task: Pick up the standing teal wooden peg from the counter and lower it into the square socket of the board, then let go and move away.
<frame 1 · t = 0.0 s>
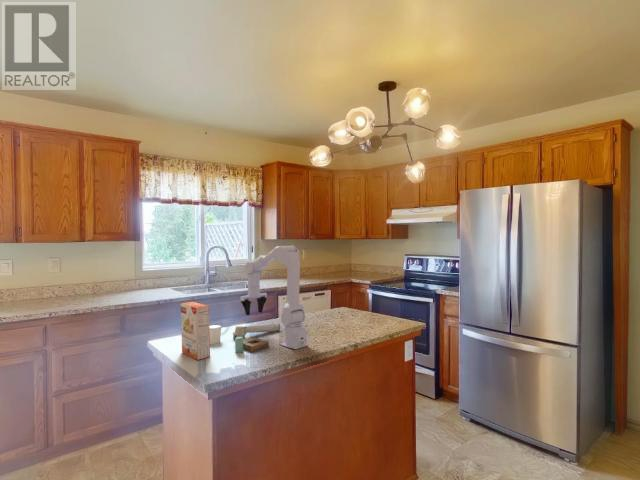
hand: (254, 313, 181), 10 cm above the countertop, tool pointing down, fingers open, 7 cm apart
socket board: (252, 346, 161), on the countertop
peg: (239, 352, 154), on the countertop
cracker box: (195, 355, 151), on the countertop
cream knobbed rod: (257, 335, 180), on the countertop
white cup: (213, 342, 170), on the countertop
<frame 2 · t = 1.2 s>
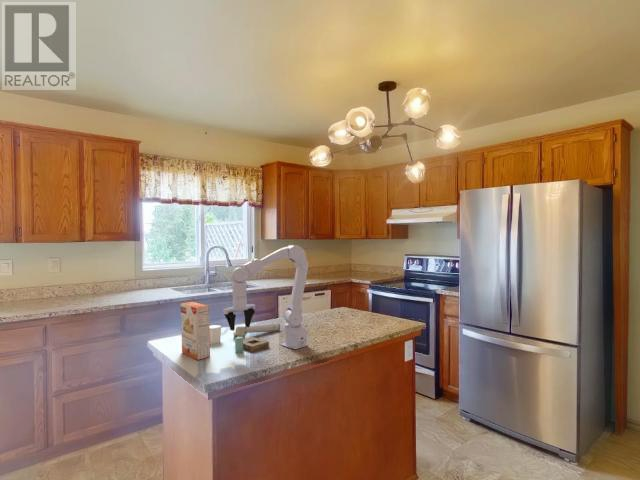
hand: (240, 328, 155), 9 cm above the countertop, tool pointing down, fingers open, 7 cm apart
nothing on the countertop moved.
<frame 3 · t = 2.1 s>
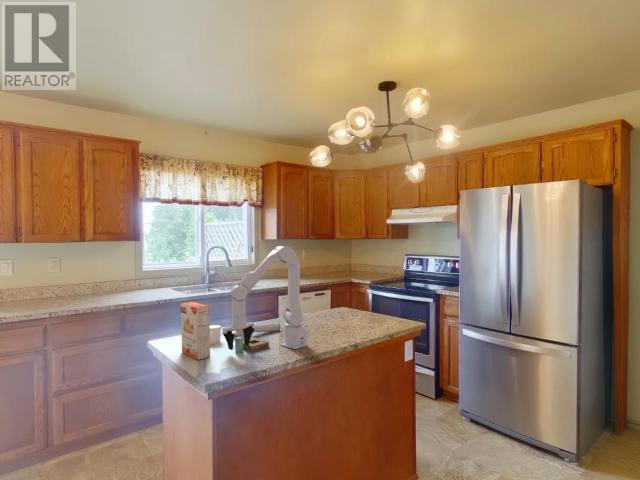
hand: (238, 347, 153), 2 cm above the countertop, tool pointing down, fingers open, 7 cm apart
nothing on the countertop moved.
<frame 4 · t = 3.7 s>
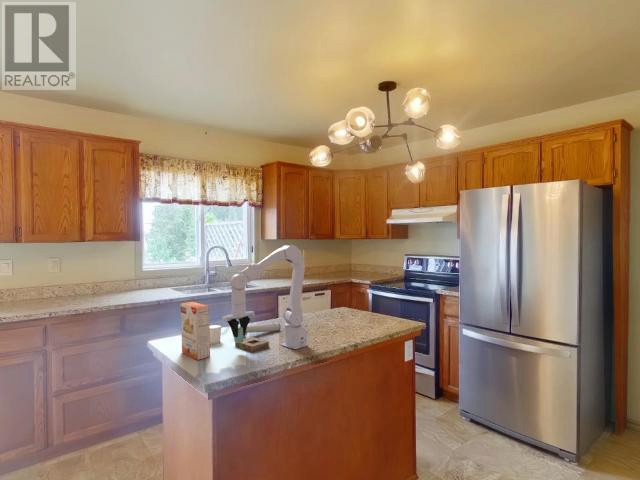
hand: (239, 336, 154), 7 cm above the countertop, tool pointing down, fingers closed on peg, 3 cm apart
peg: (239, 341, 154), point 4 cm above the countertop, touching gripper
everything else where it was.
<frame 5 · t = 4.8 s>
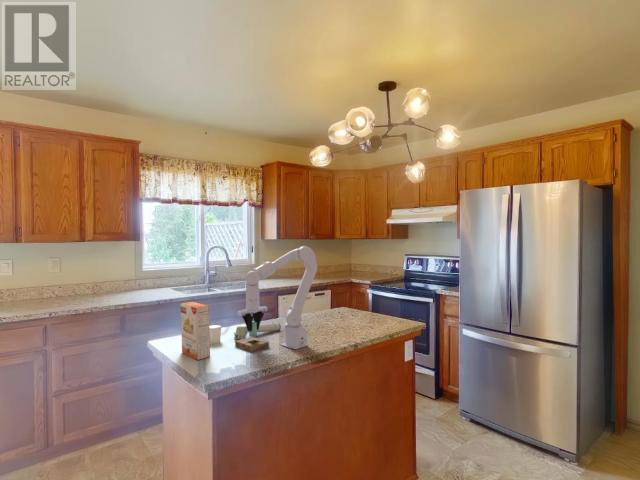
hand: (253, 330, 160), 7 cm above the countertop, tool pointing down, fingers closed on peg, 3 cm apart
peg: (253, 335, 160), point 5 cm above the countertop, touching gripper
everything else where it was.
when the fingers open (3 cm above the countertop, at t = 6.0 s): peg stays where it is, resting in socket board.
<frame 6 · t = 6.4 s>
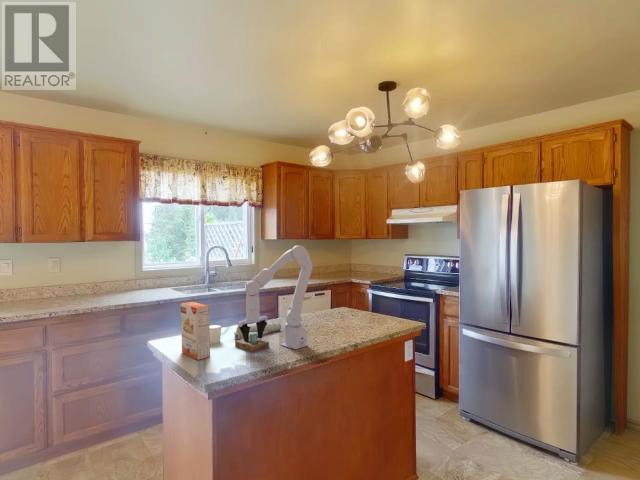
hand: (253, 339, 160), 3 cm above the countertop, tool pointing down, fingers open, 7 cm apart
peg: (253, 347, 160), resting in socket board
everything else where it was.
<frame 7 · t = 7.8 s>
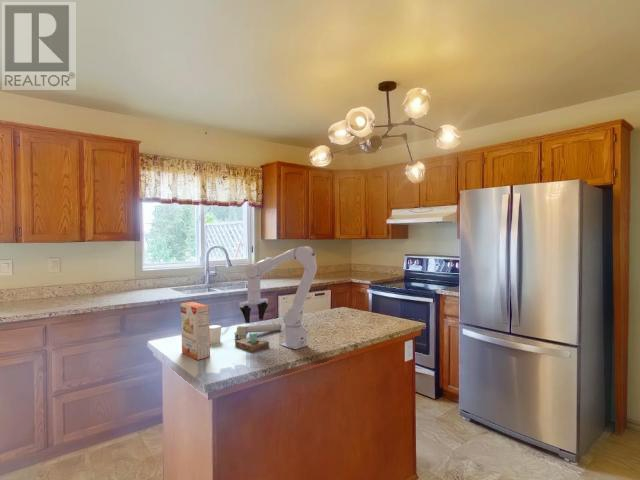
hand: (254, 321, 167), 10 cm above the countertop, tool pointing down, fingers open, 7 cm apart
nothing on the countertop moved.
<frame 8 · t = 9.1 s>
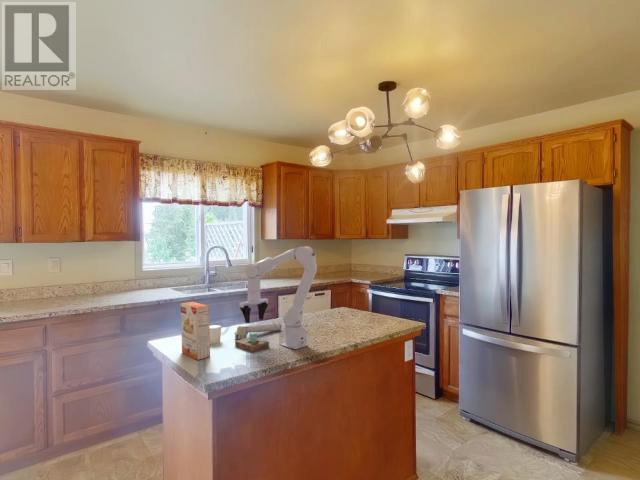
hand: (254, 321, 167), 10 cm above the countertop, tool pointing down, fingers open, 7 cm apart
nothing on the countertop moved.
at the end: peg 0.0 cm from the target spot on the socket board, point 0.0 cm above the socket board's base; peg tilted 0°; the gripper is holding nothing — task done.
